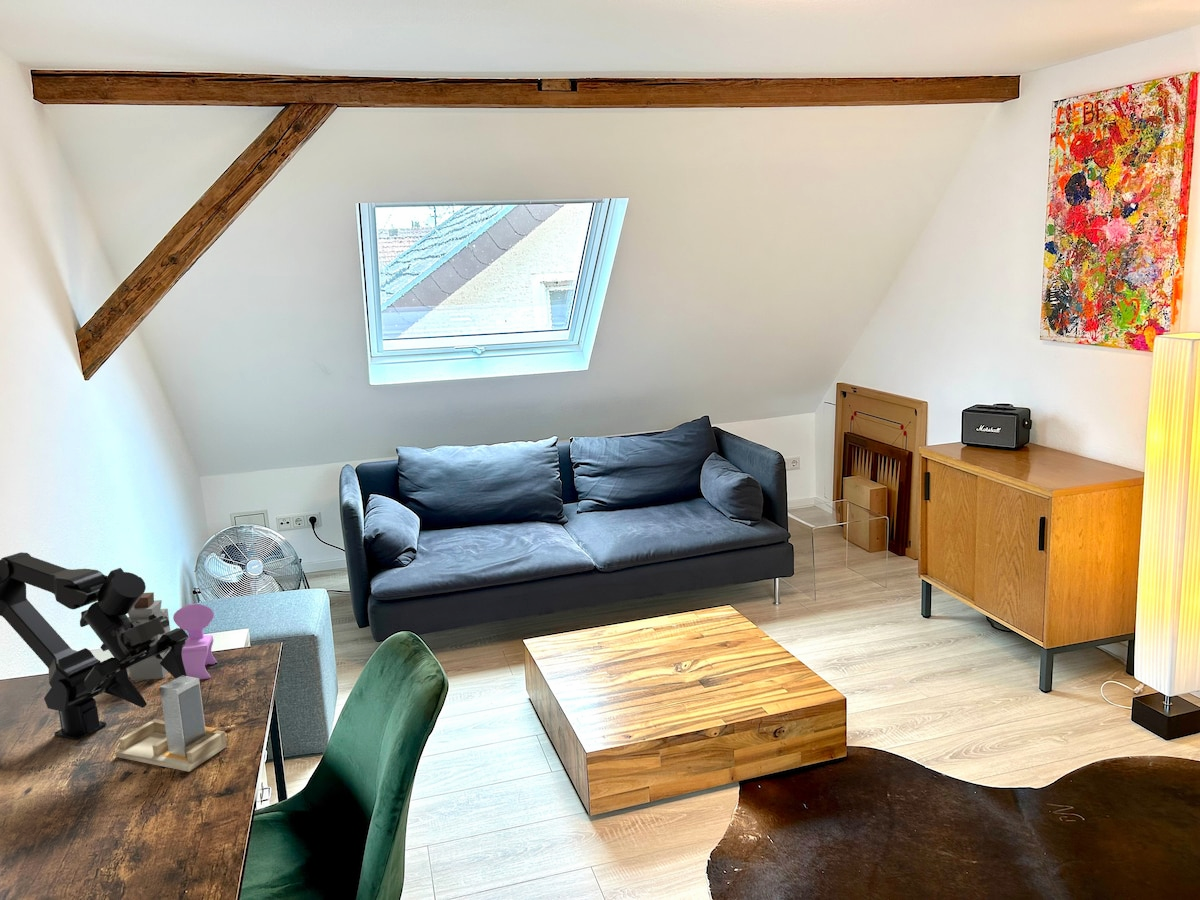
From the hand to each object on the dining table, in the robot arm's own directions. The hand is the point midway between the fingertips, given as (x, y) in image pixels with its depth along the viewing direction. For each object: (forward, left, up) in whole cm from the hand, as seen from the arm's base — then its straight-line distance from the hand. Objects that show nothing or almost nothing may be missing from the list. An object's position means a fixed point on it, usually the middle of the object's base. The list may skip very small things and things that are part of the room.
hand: (166, 694), depth 164 cm
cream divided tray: (0, 0, -11) cm, 11 cm away
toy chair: (-22, +29, -11) cm, 38 cm away
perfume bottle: (-32, +26, -11) cm, 43 cm away
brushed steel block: (+4, 0, -10) cm, 11 cm away
